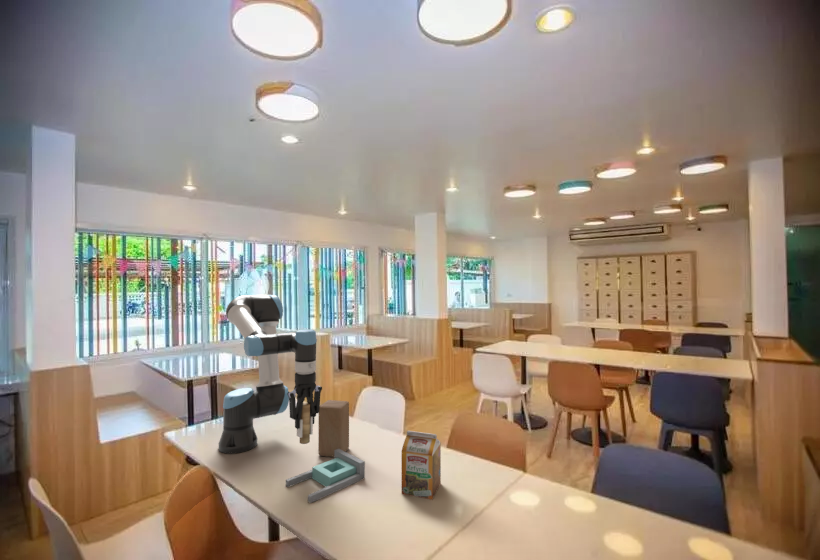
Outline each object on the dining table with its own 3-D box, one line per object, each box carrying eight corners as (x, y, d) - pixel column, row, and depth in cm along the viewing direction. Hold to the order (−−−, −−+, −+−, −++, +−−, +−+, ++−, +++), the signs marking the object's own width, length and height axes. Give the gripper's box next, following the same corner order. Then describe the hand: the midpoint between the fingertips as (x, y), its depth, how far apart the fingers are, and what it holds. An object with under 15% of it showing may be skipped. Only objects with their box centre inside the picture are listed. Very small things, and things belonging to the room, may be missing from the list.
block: (341, 458, 156) (341, 408, 156) (317, 456, 158) (317, 406, 158) (349, 448, 166) (349, 400, 166) (327, 446, 168) (327, 399, 168)
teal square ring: (312, 478, 141) (312, 467, 141) (337, 467, 148) (337, 457, 148) (330, 489, 133) (330, 477, 133) (356, 478, 141) (356, 466, 141)
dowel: (297, 441, 146) (298, 404, 146) (306, 439, 149) (306, 402, 149) (302, 444, 144) (303, 406, 144) (311, 441, 146) (312, 404, 146)
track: (285, 485, 136) (285, 467, 136) (338, 464, 151) (338, 448, 151) (310, 503, 125) (310, 484, 125) (364, 478, 141) (364, 461, 141)
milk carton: (440, 483, 137) (440, 428, 137) (432, 499, 127) (432, 440, 127) (411, 478, 140) (411, 425, 141) (401, 493, 130) (401, 436, 131)
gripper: (290, 377, 137) (289, 444, 138) (330, 370, 149) (329, 431, 150) (279, 373, 143) (278, 438, 143) (319, 366, 154) (318, 426, 155)
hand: (304, 434), depth 146 cm, fingers closed on dowel, 3 cm apart
